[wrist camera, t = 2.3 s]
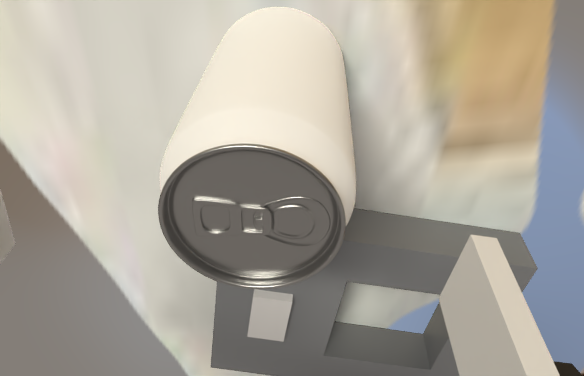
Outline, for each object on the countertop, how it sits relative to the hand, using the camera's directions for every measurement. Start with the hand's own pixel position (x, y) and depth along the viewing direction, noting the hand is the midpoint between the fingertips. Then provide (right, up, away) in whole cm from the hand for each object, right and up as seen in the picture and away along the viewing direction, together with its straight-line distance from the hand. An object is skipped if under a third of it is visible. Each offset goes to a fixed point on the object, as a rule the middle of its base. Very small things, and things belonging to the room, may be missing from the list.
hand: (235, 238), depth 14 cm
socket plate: (+6, -6, +19) cm, 21 cm away
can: (+1, +8, +10) cm, 13 cm away
